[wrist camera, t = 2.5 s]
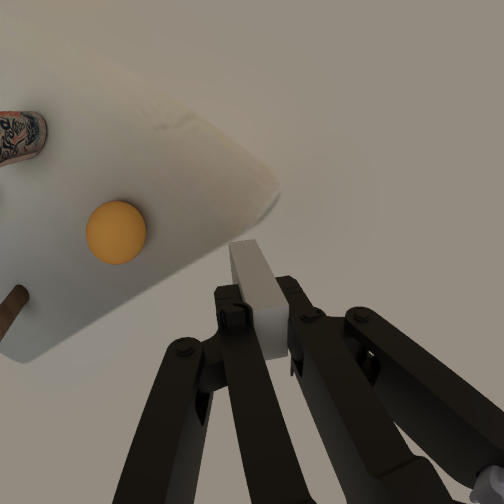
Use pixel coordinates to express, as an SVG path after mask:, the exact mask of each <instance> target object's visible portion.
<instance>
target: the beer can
mask: <svg viewBox="0 0 504 504" xmlns="http://www.w3.org/2000/svg"><path fill="white" fill-rule="evenodd" d="M45 137H46V126H45V122H44V120H43V118H42V117H41V115H39V114H38V113H36V112H31V111H2V112H0V167H2V166H5V165H8V164H12V163H15V162H18V161H22V160H25V159H31V158H33V157H34V156H36V155H37V154H38V153H39V151H40V150H41V148H42V146H43V144H44V141H45Z"/></svg>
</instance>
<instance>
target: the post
mask: <svg viewBox="0 0 504 504" xmlns="http://www.w3.org/2000/svg"><path fill="white" fill-rule="evenodd" d="M28 300H29V294H28V291H27V290H26V288H25V287H23V286H22V285H16V286H15V287H14V289H13V290H12V291H11V292H10V293H9V295H8V296H7V297H6V298H5V300H4V301H3V302H2V303H1V305H0V342H1V340H2V338H3V337H4V335H5V334H6V332H7V330H8V329H9V327H10V326H11V324H12V323H13V321H14V320H15V318H16V317H17V315H18V314H19V312H20V311H21V310H22V308H23V307H24V305H25V304H26V302H27V301H28Z"/></svg>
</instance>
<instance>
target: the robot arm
mask: <svg viewBox="0 0 504 504" xmlns="http://www.w3.org/2000/svg"><path fill="white" fill-rule="evenodd" d="M229 251H230V261H231V271H232V279H233V285H226V286H219V287H217V288H216V290H215V292H214V297H215V305H216V316H217V322H218V330H217V332H216V334H215V335H214V336H212V337H211V338H209V339H207V340H205V341H203V342H200V341H199V340H197V339H195V338H191V337H185V338H180V339H177V340H175V341H173V342H172V343H171V344H170V345H169V346H168V348H167V350H166V353H165V356H164V358H163V360H162V363H161V366H160V368H159V371H158V373H157V376H156V378H155V381H154V384H153V386H152V389H151V392H150V394H149V397H148V399H147V402H146V405H145V408H144V410H143V413H142V416H141V419H140V422H139V424H138V427H137V430H136V433H135V436H134V438H133V441H132V444H131V447H130V450H129V453H128V456H127V459H126V462H125V465H124V468H123V471H122V474H121V477H120V480H119V483H118V486H117V489H116V492H115V496H114V499H113V502H112V504H194V499H195V493H196V487H197V482H198V476H199V470H200V465H201V459H202V454H203V448H204V443H205V437H206V432H207V426H208V421H209V416H210V410H211V404H212V400H213V394H214V393H213V392H214V391H216V390H218V389H221V388H223V387H225V386H228V390H229V396H230V401H231V407H232V412H233V418H234V423H235V428H236V433H237V438H238V443H239V448H240V453H241V458H242V462H243V467H244V472H245V477H246V481H247V485H248V489H249V494H250V498H251V503H252V504H317V503H316V502H315V501H314V500H313V499H312V497H311V496H310V494H309V491H308V488H307V486H306V483H305V480H304V477H303V474H302V471H301V468H300V465H299V463H298V460H297V457H296V454H295V451H294V448H293V445H292V443H291V439H290V436H289V433H288V431H287V428H286V424H285V421H284V418H283V416H282V412H281V409H280V406H279V403H278V400H277V397H276V394H275V391H274V388H273V385H272V382H271V379H270V376H269V372H268V369H267V366H266V364H265V360H270V359H276V358H281V357H286V356H288V348H289V351H290V353H291V370H290V373H291V376H293V373H294V372H295V375H296V378H297V380H298V382H299V385H300V387H301V390H302V392H303V395H304V397H305V400H306V402H307V405H308V407H309V410H310V412H311V414H312V417H313V419H314V422H315V424H316V427H317V429H318V432H319V434H320V437H321V439H322V441H323V444H324V446H325V449H326V451H327V453H328V456H329V458H330V461H331V463H332V466H333V468H334V471H335V473H336V475H337V478H338V480H339V483H340V485H341V488H342V490H343V492H344V495H345V497H346V501H347V504H466V503H462V502H458V501H455V500H453V499H452V498H451V496H450V494H449V492H448V490H447V489H446V487H445V485H444V484H443V482H442V480H441V478H440V477H439V475H438V473H437V472H436V470H435V468H434V467H433V465H432V464H431V463H430V461H429V460H428V459H427V458H425V457H423V456H416V455H414V454H413V453H412V452H411V451H410V449H409V447H408V445H407V444H406V442H405V440H404V439H403V437H402V435H401V434H400V432H399V430H398V429H397V427H396V425H395V424H394V422H395V423H396V424H397V425H398V426H399V427H400V428H401V429H402V430H403V431H404V432H405V433H406V434H407V435H408V436H409V437H410V438H411V439H412V440H413V441H414V442H415V443H416V444H417V445H418V446H419V447H420V448H421V449H422V450H423V451H424V452H425V453H426V454H427V455H428V456H429V457H430V458H431V459H433V460H434V461H435V462H436V463H437V464H438V465H439V466H440V467H441V468H442V469H443V470H444V471H445V472H446V473H447V474H448V475H450V476H451V477H452V478H453V479H454V480H456V481H457V482H459V483H460V484H462V485H464V486H466V487H468V488H471V489H473V491H472V492H471V493H470V496H469V498H470V501H471V502H473V503H478V502H479V503H480V504H504V412H503V411H502V410H501V409H500V408H498V407H497V406H496V405H495V404H493V403H492V402H491V401H490V400H489V399H487V398H486V397H484V395H482V394H481V393H480V392H479V391H477V390H476V389H475V388H474V387H472V386H471V385H470V384H469V383H467V382H466V381H465V380H463V379H462V378H461V377H460V376H458V375H457V374H456V373H455V372H453V371H452V370H451V369H449V368H448V367H447V366H446V365H444V364H443V363H442V362H440V361H439V360H438V359H437V358H435V357H434V356H433V355H431V354H430V353H429V352H427V351H426V350H425V349H424V348H422V347H421V346H420V345H418V344H417V343H416V342H414V341H413V340H412V339H410V338H409V337H408V336H406V335H405V334H404V333H402V332H401V331H400V330H398V329H397V328H396V327H394V326H393V325H392V324H390V323H389V322H388V321H386V320H385V319H383V318H382V317H381V316H380V315H378V314H377V313H376V312H374V311H373V310H371V309H369V308H366V307H353V308H351V309H349V310H348V311H347V312H346V314H345V317H330V316H326V314H325V313H324V312H323V311H322V310H321V309H319V308H316V307H313V305H312V304H311V302H310V301H309V299H308V297H307V296H306V294H305V293H304V292H303V290H302V288H301V287H300V285H299V283H298V282H297V280H296V279H294V278H292V277H291V276H283V277H276V278H275V277H274V275H273V273H272V271H271V270H270V267H269V266H268V264H267V262H266V260H265V258H264V256H263V254H262V252H261V250H260V248H259V246H258V244H257V242H256V241H255V240H246V241H238V242H230V243H229ZM369 351H370V352H371V353H372V354H374V356H373V355H371V354H370V353H369ZM393 421H394V422H393Z"/></svg>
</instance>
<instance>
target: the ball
mask: <svg viewBox="0 0 504 504" xmlns="http://www.w3.org/2000/svg"><path fill="white" fill-rule="evenodd" d="M145 238H146V227H145V222H144V220H143V217H142V216H141V214H140V213H139V211H138V210H137V209H136V208H134V207H133V206H132V205H130V204H128V203H125V202H121V201H112V202H108V203H105V204H103V205H101V206H100V207H98V208H97V209H96V210H95V211H94V212H93V213H92V215H91V216H90V218H89V221H88V223H87V227H86V239H87V243H88V246H89V248H90V250H91V252H92V253H93V254H94V255H95V256H96V257H97V258H98V259H99V260H101V261H103V262H105V263H108V264H113V265H118V264H124V263H126V262H128V261H130V260H132V259H133V258H135V257H136V256H137V255H138V253H139V252H140V251H141V249H142V247H143V245H144V242H145Z"/></svg>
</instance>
